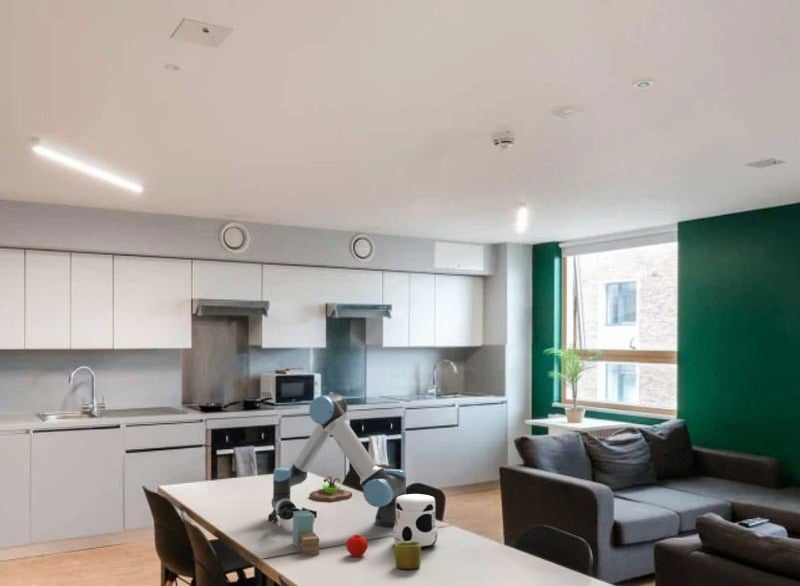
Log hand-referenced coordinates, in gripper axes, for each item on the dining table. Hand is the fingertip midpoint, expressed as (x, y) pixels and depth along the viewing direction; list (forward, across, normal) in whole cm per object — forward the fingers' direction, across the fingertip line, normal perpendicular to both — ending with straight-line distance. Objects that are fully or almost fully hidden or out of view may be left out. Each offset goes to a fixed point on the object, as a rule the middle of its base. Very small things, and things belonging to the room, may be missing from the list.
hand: (297, 521), depth 283 cm
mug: (+46, -30, -7) cm, 56 cm away
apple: (+29, -16, -7) cm, 34 cm away
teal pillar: (+10, 0, -7) cm, 12 cm away
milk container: (+24, -42, -7) cm, 49 cm away
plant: (-68, -32, -8) cm, 75 cm away
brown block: (+19, 0, -7) cm, 20 cm away
